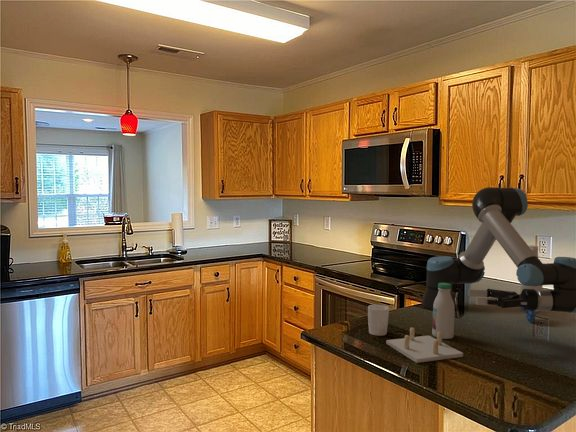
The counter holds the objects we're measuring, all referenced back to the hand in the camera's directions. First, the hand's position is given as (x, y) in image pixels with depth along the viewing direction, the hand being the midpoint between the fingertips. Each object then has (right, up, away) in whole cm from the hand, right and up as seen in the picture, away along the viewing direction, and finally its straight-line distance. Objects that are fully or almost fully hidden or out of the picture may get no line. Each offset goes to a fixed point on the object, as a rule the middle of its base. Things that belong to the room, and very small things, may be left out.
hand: (472, 296), depth 159 cm
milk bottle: (-10, -16, +3) cm, 19 cm away
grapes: (+34, -15, +24) cm, 44 cm away
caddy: (-22, -16, -11) cm, 29 cm away
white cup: (-34, -15, +6) cm, 38 cm away
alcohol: (+45, -14, +42) cm, 63 cm away
